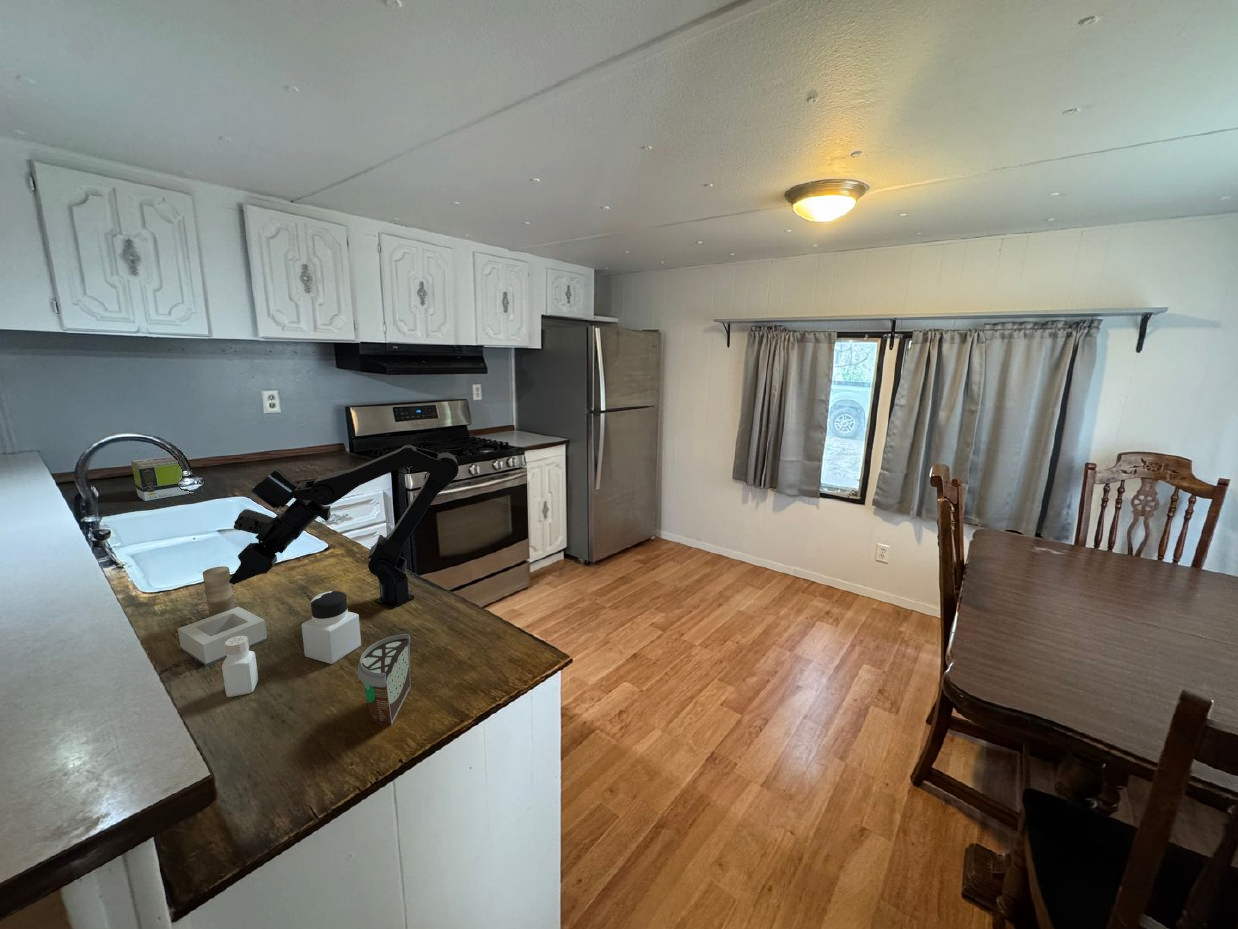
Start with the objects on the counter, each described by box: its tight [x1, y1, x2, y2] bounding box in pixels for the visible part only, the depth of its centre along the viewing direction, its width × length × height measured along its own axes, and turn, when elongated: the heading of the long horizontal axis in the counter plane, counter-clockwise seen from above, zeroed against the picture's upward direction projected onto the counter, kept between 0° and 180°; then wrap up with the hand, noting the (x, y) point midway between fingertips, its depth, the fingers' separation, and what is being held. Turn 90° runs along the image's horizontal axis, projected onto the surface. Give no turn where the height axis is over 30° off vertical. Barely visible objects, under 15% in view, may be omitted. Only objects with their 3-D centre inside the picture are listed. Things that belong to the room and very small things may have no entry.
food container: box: [356, 633, 412, 726], centre depth 83 cm, size 12×6×10 cm, turn 5°
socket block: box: [177, 606, 268, 667], centre depth 99 cm, size 10×10×4 cm
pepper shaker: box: [221, 636, 259, 698], centre depth 86 cm, size 4×4×10 cm
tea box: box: [130, 455, 194, 502], centre depth 195 cm, size 15×10×15 cm, turn 144°
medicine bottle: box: [301, 590, 362, 665], centre depth 98 cm, size 7×7×12 cm
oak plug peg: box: [202, 566, 236, 618], centre depth 107 cm, size 4×4×12 cm
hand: (238, 574), depth 107 cm, fingers open, 9 cm apart
